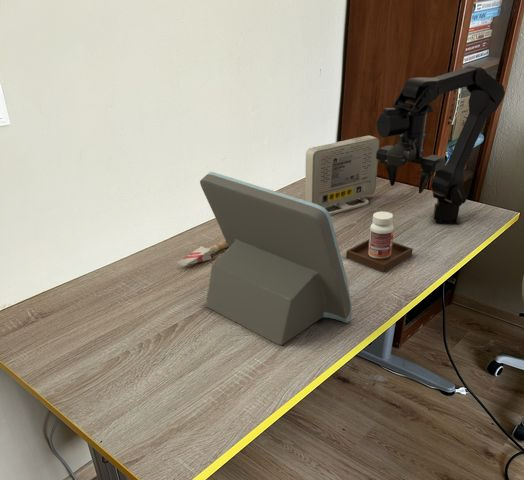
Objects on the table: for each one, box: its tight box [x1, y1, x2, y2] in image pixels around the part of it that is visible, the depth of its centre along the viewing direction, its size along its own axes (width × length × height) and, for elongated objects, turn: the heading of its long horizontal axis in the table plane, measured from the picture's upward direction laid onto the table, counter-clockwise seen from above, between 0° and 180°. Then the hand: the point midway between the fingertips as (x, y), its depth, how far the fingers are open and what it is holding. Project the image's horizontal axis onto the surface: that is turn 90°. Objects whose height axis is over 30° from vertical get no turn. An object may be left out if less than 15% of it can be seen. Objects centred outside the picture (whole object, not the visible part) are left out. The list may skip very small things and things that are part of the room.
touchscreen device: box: [199, 171, 353, 346], centre depth 122 cm, size 35×20×30 cm, turn 45°
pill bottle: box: [368, 211, 395, 259], centre depth 148 cm, size 6×6×11 cm
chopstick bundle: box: [176, 240, 229, 267], centre depth 154 cm, size 4×3×20 cm
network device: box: [304, 135, 380, 216], centre depth 176 cm, size 26×9×20 cm, turn 120°
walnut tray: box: [345, 238, 414, 273], centre depth 151 cm, size 13×12×2 cm
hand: (406, 189), depth 156 cm, fingers open, 9 cm apart
